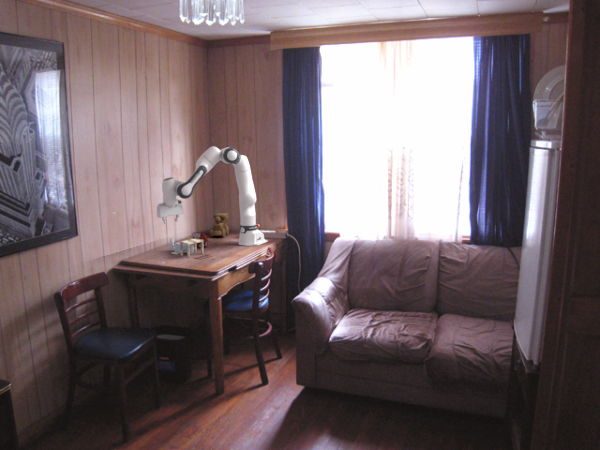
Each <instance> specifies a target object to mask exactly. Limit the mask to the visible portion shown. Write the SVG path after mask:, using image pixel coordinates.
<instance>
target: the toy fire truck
mask: <svg viewBox="0 0 600 450" xmlns="http://www.w3.org/2000/svg"><path fill="white" fill-rule="evenodd" d="M191 236H192V239H195V238H196V239H201V240H203V244H204V248H207V247H208V246H209V240H208V237H207V235H206V234H205V233H204V232H202V233H201V232H192V233H191ZM196 244H197V248H199V249H200V248H201V242H198V243H196Z"/></svg>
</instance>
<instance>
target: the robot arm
mask: <svg viewBox="0 0 600 450" xmlns="http://www.w3.org/2000/svg"><path fill="white" fill-rule="evenodd" d="M219 162H222V163H223V164H228V165H229V164H232V166H233V168H234V174H235V180H236V184H237V188H238V192H239V194H238V202H239V203H238V204H239V217H240V218H239V220H240V221H239V223H240V224H239V230H240V231H239V238H238V241H237V243H238V245H240V246H248V247H249V246H260V245H263V244H265V243H267V242H269V241H268V240H267V239H265V235H264V232H262V231H260V229H258V228H260V224H259V223H258V224H257V220H256V219H257V213H256V207H255V206H256V205H255V204H256V203H257V193H256V190H255V185H254V181H253V175H252V171H251V166H250V165H251V164H250V163H249V159H248V157H247V156H246V155H243V154H240V153H239V152H238V150H237V149H236V148H234V147H230V146H228V147H224V148H220V149H219V148H218V147H217V146H215V145H214V146H210V147H209V148H207V150H205V151H204V152H203V153H202V154H201V155H200V156H199V158H198V159H197V160H196V162H195V170H194V172H193V173H192V174H191V176H190V177H189V178H188V179H187V180H186V181H185V182H183V181H181V180H178V179H176V178H174V177H166V178H164V179H163V180H162V183H161V191H162V202H160V203H158V204H157V206H156V217H158V218H160V219H161V220H162V221H163V222H162V223H163V224H167V223H168V220H166V218H167V217H172V216H175V218H174V222H178V221H179V218H180V215H183V214H184V205H183V203H184V202H183V200H185V199H186V200H187V199H189V198H190V197H191V196H192V195H193V193H194V190H195V188H196V186H197V185H198V184H199V183H200V182H201V180H202V179H203V178H204V176H205V175H206V174H208V173H209V172H210V171H211V170H212V169H213V168H214V166H215V165H216V164H217V163H219ZM177 197H179V198H181V199H177ZM182 199H183V200H182Z"/></svg>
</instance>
